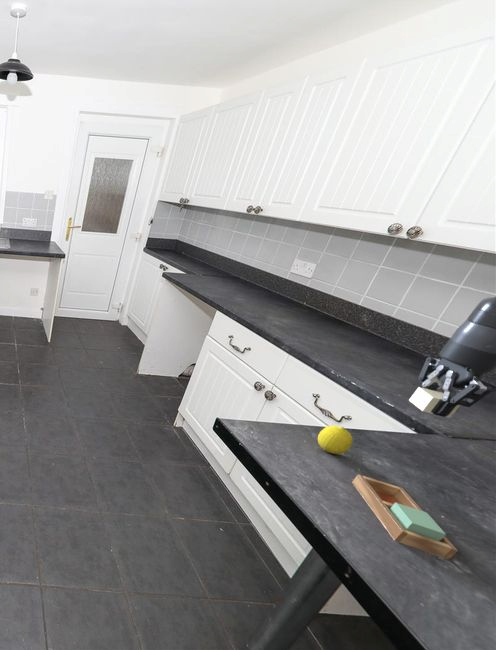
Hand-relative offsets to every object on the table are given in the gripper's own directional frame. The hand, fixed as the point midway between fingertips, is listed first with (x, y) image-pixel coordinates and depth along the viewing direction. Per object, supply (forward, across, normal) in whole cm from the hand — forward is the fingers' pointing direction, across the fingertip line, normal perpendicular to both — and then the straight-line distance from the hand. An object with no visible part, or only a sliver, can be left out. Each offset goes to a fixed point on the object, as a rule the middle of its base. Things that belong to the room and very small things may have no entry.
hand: (429, 407), depth 77 cm
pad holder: (+15, -24, +12) cm, 31 cm away
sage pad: (+15, -28, +12) cm, 33 cm away
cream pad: (0, 0, 0) cm, 0 cm away
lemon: (+16, -7, +16) cm, 23 cm away
